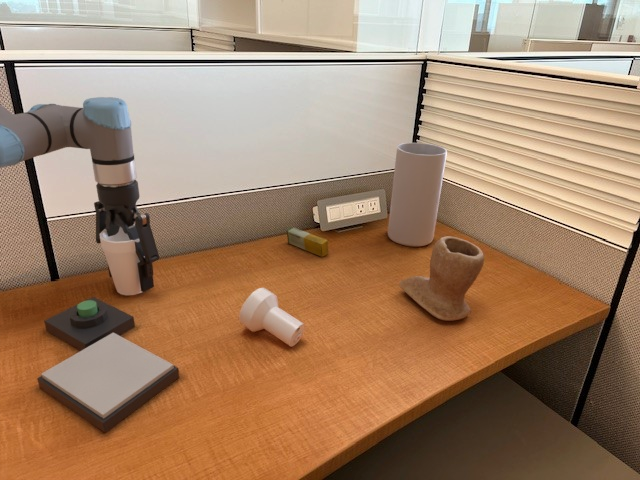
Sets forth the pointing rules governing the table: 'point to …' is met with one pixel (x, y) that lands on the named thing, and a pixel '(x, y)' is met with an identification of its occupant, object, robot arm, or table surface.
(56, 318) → the dark grey button base
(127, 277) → the foam cup
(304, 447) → the table surface
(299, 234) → the medication box
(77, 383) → the scale
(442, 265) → the stone cup
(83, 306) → the button
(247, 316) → the spotlight
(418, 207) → the cylinder vase
